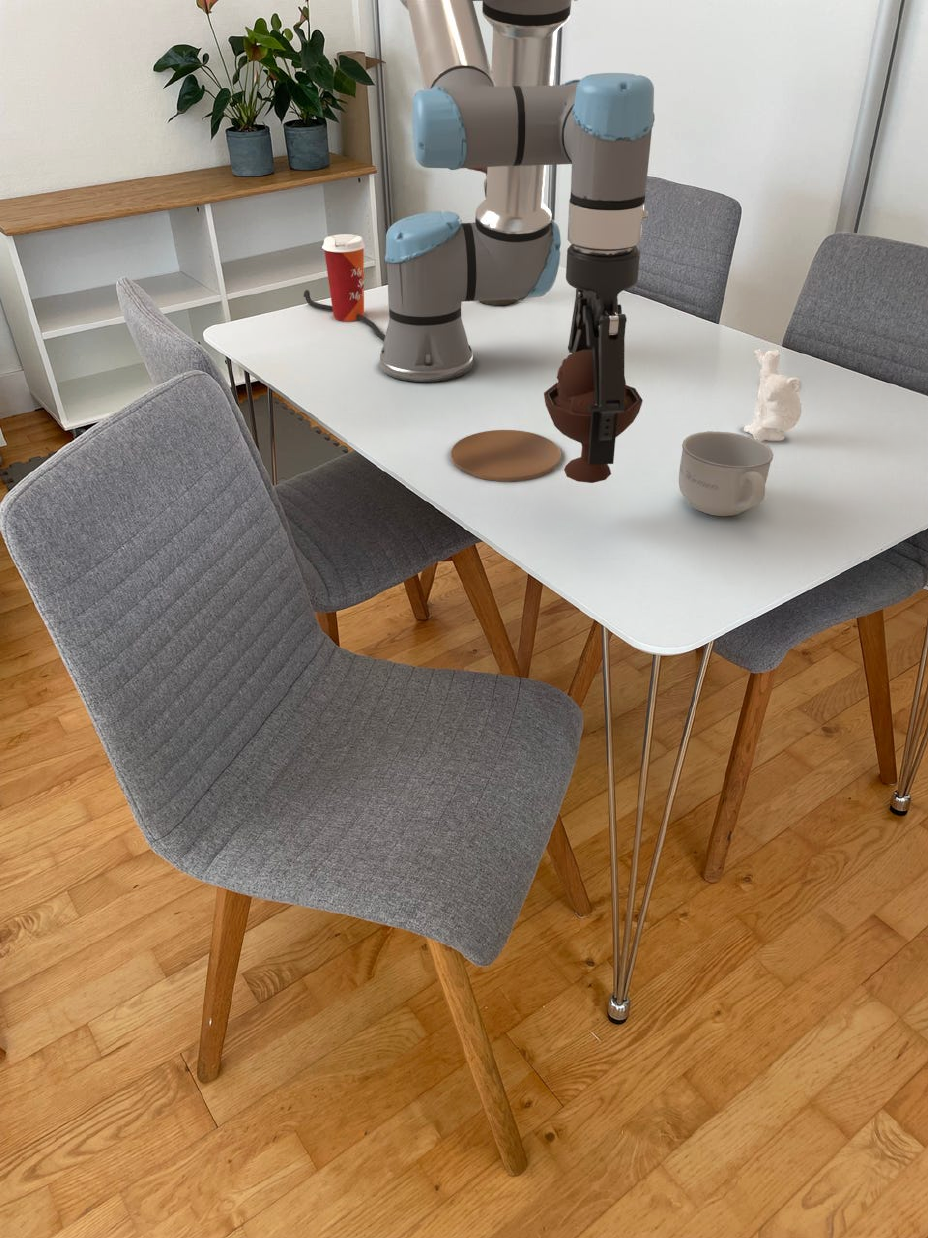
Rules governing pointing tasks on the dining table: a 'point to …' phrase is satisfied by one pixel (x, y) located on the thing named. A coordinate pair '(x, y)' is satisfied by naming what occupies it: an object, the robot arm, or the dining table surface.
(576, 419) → the ice cream bowl
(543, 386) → the dining table surface
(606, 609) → the dining table surface
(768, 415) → the koala figurine
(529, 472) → the brown round coaster
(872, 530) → the dining table surface
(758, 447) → the teacup
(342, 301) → the paper cup
